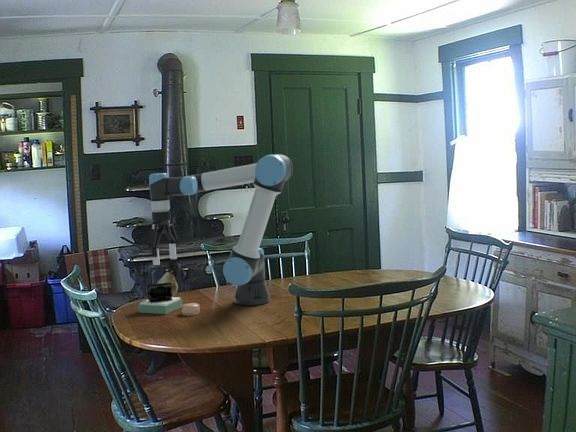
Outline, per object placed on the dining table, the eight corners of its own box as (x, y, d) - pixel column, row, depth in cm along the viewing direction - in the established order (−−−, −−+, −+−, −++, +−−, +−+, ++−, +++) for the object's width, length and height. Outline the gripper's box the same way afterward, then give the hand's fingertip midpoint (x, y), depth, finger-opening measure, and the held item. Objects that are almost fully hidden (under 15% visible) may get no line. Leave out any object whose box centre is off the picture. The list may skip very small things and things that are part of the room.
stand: (182, 306, 290) (182, 297, 290) (165, 314, 278) (165, 304, 278) (156, 305, 295) (155, 295, 295) (138, 312, 283) (137, 302, 283)
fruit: (182, 296, 310) (181, 270, 308) (165, 300, 303) (163, 273, 302) (169, 294, 317) (167, 268, 316) (151, 298, 310) (150, 271, 309)
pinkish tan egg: (202, 312, 280) (202, 303, 280) (194, 316, 273) (193, 307, 273) (187, 311, 283) (187, 302, 282) (178, 315, 276) (178, 306, 276)
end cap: (170, 297, 291) (169, 281, 291) (173, 300, 285) (172, 284, 284) (146, 299, 288) (145, 283, 287) (149, 303, 281) (148, 286, 281)
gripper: (168, 208, 298) (172, 256, 300) (136, 214, 275) (140, 267, 277) (183, 207, 295) (187, 256, 297) (152, 213, 272) (157, 267, 274)
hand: (165, 261), depth 287 cm, fingers open, 13 cm apart
